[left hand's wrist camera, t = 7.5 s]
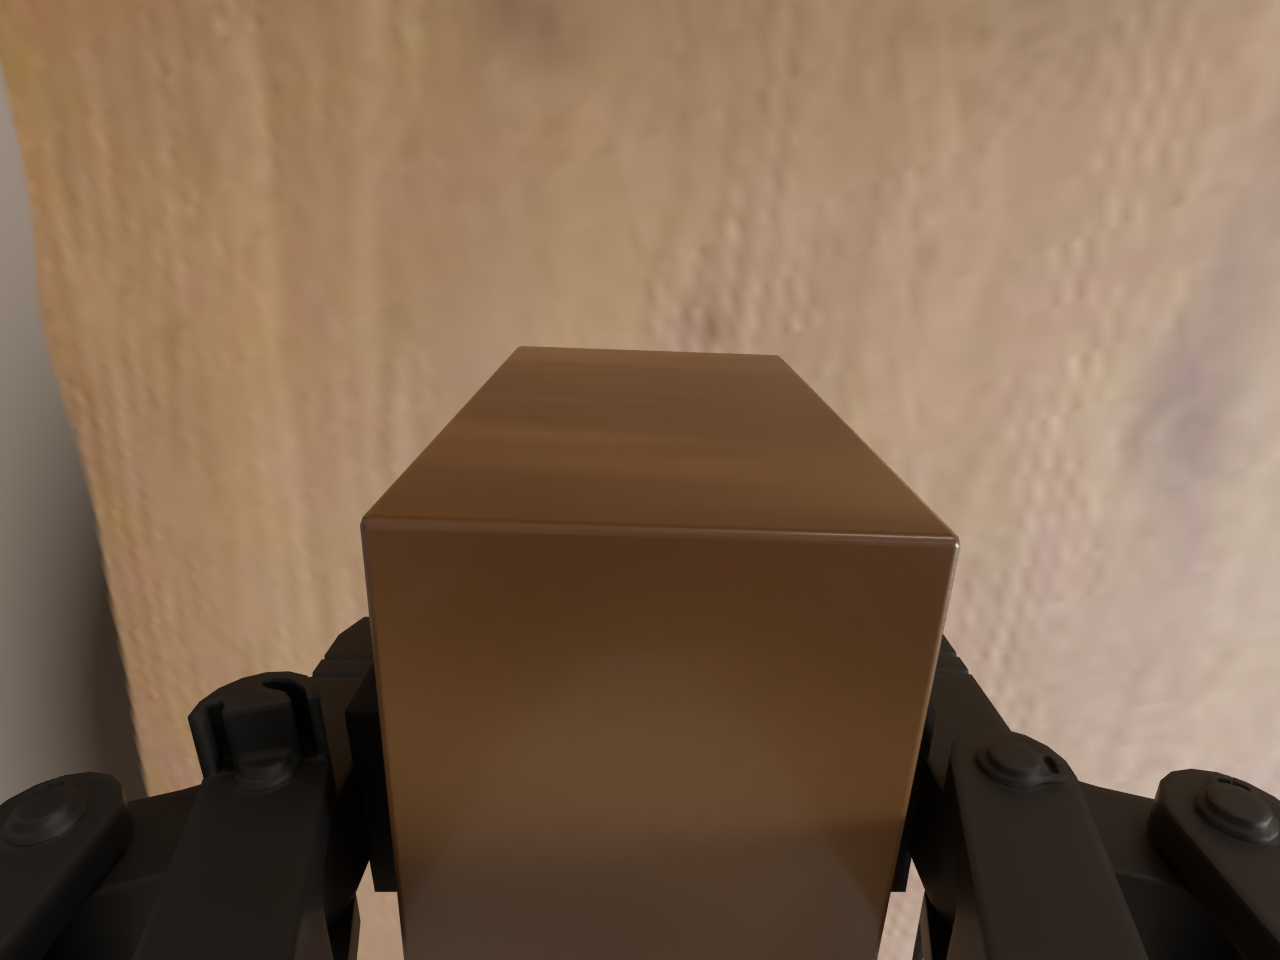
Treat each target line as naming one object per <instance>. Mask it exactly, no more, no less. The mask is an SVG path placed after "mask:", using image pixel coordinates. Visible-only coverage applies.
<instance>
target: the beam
mask: <svg viewBox="0 0 1280 960" xmlns="http://www.w3.org/2000/svg"><path fill="white" fill-rule="evenodd" d="M360 529H361V539H362V549H363V559H364V569H365V579H366V588H367V598H368V608H369V618H370V628H371V638H372V648H373V658H374V667H375V677H376V687H377V697H378V707H379V717H380V727H381V737H382V747H383V756H384V766H385V776H386V786H387V796H388V806H389V816H390V826H391V836H392V845H393V855H394V865H395V875H396V885H397V895H398V905H399V915H400V924H401V934H402V944H403V954H404V960H877V957H878V952H879V947H880V942H881V937H882V932H883V927H884V922H885V918H886V913H887V908H888V903H889V898H890V893H891V888H892V883H893V878H894V873H895V868H896V863H897V858H898V853H899V848H900V843H901V838H902V833H903V828H904V823H905V818H906V813H907V808H908V803H909V798H910V793H911V788H912V784H913V779H914V774H915V769H916V764H917V759H918V754H919V749H920V744H921V739H922V734H923V729H924V724H925V719H926V714H927V709H928V704H929V699H930V694H931V689H932V684H933V679H934V674H935V669H936V664H937V659H938V654H939V650H940V645H941V640H942V635H943V630H944V625H945V620H946V615H947V610H948V605H949V600H950V595H951V590H952V585H953V580H954V575H955V570H956V565H957V560H958V555H959V550H960V542H959V538H958V536H957V535H956V534H955V533H954V532H953V531H952V530H951V529H950V528H949V527H948V526H947V525H946V524H945V523H944V522H943V521H942V520H941V519H940V518H939V517H938V516H937V515H936V514H935V513H934V512H933V511H932V510H931V509H930V508H929V507H928V506H927V505H926V504H925V503H924V502H923V501H922V500H921V499H920V498H919V497H918V496H917V495H916V494H915V493H914V492H913V490H912V489H911V488H910V487H909V486H908V485H907V484H906V483H905V482H904V481H903V480H902V479H901V478H900V477H899V476H898V475H897V474H896V473H895V472H894V471H893V470H892V469H891V468H890V467H889V466H888V465H887V464H886V463H885V462H884V461H883V460H882V459H881V458H880V457H879V456H878V455H877V454H876V453H875V452H874V451H873V450H872V449H871V448H870V447H869V446H868V445H867V444H866V443H865V442H864V441H863V440H862V439H861V438H860V437H859V436H858V435H857V434H856V433H855V432H854V431H853V430H852V429H851V428H850V427H849V426H848V425H847V424H846V423H845V422H844V421H843V420H842V419H841V418H840V417H839V416H838V415H837V414H836V413H835V412H834V411H833V410H832V409H831V408H830V407H829V406H828V405H827V404H826V403H825V402H824V401H823V400H822V399H821V398H820V397H819V396H818V395H817V393H816V392H815V391H814V390H813V389H812V388H811V387H810V386H809V385H808V384H807V383H806V382H805V381H804V380H803V379H802V378H801V377H800V376H799V375H798V374H797V373H796V372H795V371H794V370H793V369H792V368H791V367H790V366H789V365H788V364H787V363H786V362H785V361H784V360H783V359H782V358H781V357H779V356H777V355H751V354H723V353H695V352H667V351H639V350H611V349H583V348H555V347H528V346H521V347H518V348H517V349H516V350H515V351H514V352H513V353H512V355H511V356H510V357H509V358H508V359H507V360H506V361H505V362H504V363H503V364H502V366H501V367H500V368H499V369H498V370H497V371H496V372H495V373H494V374H493V375H492V376H491V378H490V379H489V380H488V381H487V382H486V383H485V384H484V385H483V386H482V387H481V388H480V390H479V391H478V392H477V393H476V394H475V395H474V396H473V397H472V398H471V399H470V400H469V402H468V403H467V404H466V405H465V406H464V407H463V408H462V409H461V410H460V411H459V413H458V414H457V415H456V416H455V417H454V418H453V419H452V420H451V421H450V422H449V423H448V425H447V426H446V427H445V428H444V429H443V430H442V431H441V432H440V433H439V434H438V435H437V437H436V438H435V439H434V440H433V441H432V442H431V443H430V444H429V445H428V446H427V447H426V449H425V450H424V451H423V452H422V453H421V454H420V455H419V456H418V457H417V458H416V459H415V461H414V462H413V463H412V464H411V465H410V466H409V467H408V468H407V469H406V470H405V472H404V473H403V474H402V475H401V476H400V477H399V478H398V479H397V480H396V481H395V482H394V484H393V485H392V486H391V487H390V488H389V489H388V490H387V491H386V492H385V493H384V494H383V496H382V497H381V498H380V499H379V500H378V501H377V502H376V503H375V504H374V505H373V506H372V508H371V509H370V510H369V511H368V512H367V513H366V514H365V515H364V516H363V518H362V521H361V523H360Z"/></svg>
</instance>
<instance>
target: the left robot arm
mask: <svg viewBox="0 0 1280 960" xmlns="http://www.w3.org/2000/svg"><path fill="white" fill-rule="evenodd" d="M188 721H189V725H190V728H191V732H192V736H193V740H194V744H195V747H196V751H197V755H198V759H199V763H200V766H201V770H202V774H203V781H202V783H201V784H200V785H197V786H194V787H190V788H187V789H183V790H179V791H175V792H170V793H166V794H161V795H157V796H152V797H148V798H144V799H139V800H135V801H130V802H127V800H126V797H125V794H124V791H123V788H122V785H121V783H120V782H119V781H117V780H116V779H115V778H114V777H112V776H111V775H109V774H102V773H95V772H85V773H78V774H71V775H64V776H61V777H58V778H55V779H52V780H49V781H46V782H43V783H40V784H37V785H35V786H33V787H31V788H29V789H27V790H25V791H23V792H21V793H20V794H18V795H16V796H14V797H12V798H10V799H8V800H7V801H5V802H4V803H3V804H1V805H0V960H357V952H358V941H359V931H360V915H359V909H358V903H357V897H356V891H357V888H358V886H359V884H360V881H361V879H362V876H363V874H364V871H365V869H366V867H367V864H368V862H369V860H370V866H371V871H372V877H373V883H374V889H375V892H397V885H396V875H395V865H394V855H393V845H392V836H391V826H390V816H389V806H388V796H387V786H386V776H385V766H384V756H383V747H382V737H381V727H380V717H379V707H378V697H377V687H376V677H375V667H374V658H373V648H372V638H371V628H370V618H369V617H364V618H362V619H361V620H359V621H358V622H356V623H355V624H354V625H352V626H351V627H349V628H348V629H346V630H345V631H344V632H342V633H341V634H339V635H338V637H337V638H336V640H335V641H334V643H333V644H332V646H331V647H330V648H329V650H328V651H327V653H326V654H325V659H322V660H321V661H320V663H319V664H318V666H317V667H316V669H315V670H314V671H313V676H312V677H308V676H306V675H302V674H298V673H294V672H289V671H287V672H266V673H261V674H257V675H253V676H249V677H245V678H241V679H239V680H237V681H234V682H232V683H230V684H227V685H225V686H223V687H221V688H218V689H217V690H216V691H214V692H213V693H211V694H210V695H208V696H207V697H206V698H204V699H203V700H201V701H200V702H199V703H198V704H197V706H196V707H195V708H194V709H193V711H192V712H191V713H190V715H189V716H188ZM911 857H912V859H913V862H914V864H915V867H916V869H917V871H918V874H919V876H920V879H921V881H922V884H923V886H924V888H925V892H924V897H923V903H922V908H921V914H920V919H919V924H918V930H917V935H916V941H915V946H914V952H913V959H912V960H1280V801H1279V800H1278V799H1277V798H1275V797H1274V796H1272V795H1270V794H1268V793H1266V792H1264V791H1262V790H1260V789H1259V788H1257V787H1255V786H1253V785H1251V784H1249V783H1247V782H1245V781H1242V780H1239V779H1237V778H1233V777H1230V776H1227V775H1224V774H1221V773H1218V772H1211V771H1204V770H1197V769H1186V770H1179V771H1172V772H1170V773H1169V774H1168V775H1167V776H1165V777H1164V778H1163V779H1162V780H1161V781H1160V783H1159V786H1158V790H1157V793H1156V796H1155V799H1151V798H1146V797H1142V796H1137V795H1133V794H1128V793H1124V792H1119V791H1115V790H1110V789H1106V788H1101V787H1097V786H1094V785H1090V784H1087V783H1084V782H1080V781H1078V779H1077V777H1076V775H1075V774H1074V772H1073V771H1072V769H1071V768H1070V766H1069V765H1068V764H1067V762H1066V761H1065V760H1064V759H1063V758H1062V757H1060V756H1059V755H1058V754H1057V753H1055V752H1054V751H1053V750H1052V749H1050V748H1049V747H1048V746H1046V745H1044V744H1042V743H1040V742H1038V741H1036V740H1034V739H1032V738H1030V737H1028V736H1026V735H1023V734H1019V733H1016V732H1012V731H1011V730H1010V729H1009V727H1008V726H1007V725H1006V723H1005V722H1004V720H1003V719H1002V717H1001V716H1000V715H999V713H998V712H997V710H996V709H995V707H994V706H993V705H992V703H991V702H990V700H989V699H988V698H987V696H986V695H985V693H984V692H983V690H982V689H981V688H980V686H979V685H978V683H977V682H976V680H975V679H974V678H973V676H972V675H969V674H968V669H967V668H966V666H965V665H964V663H963V662H962V660H961V659H960V658H959V657H956V652H955V650H954V649H953V648H952V646H951V645H950V643H949V642H948V640H947V639H946V638H945V636H944V635H942V640H941V645H940V650H939V654H938V659H937V664H936V669H935V674H934V679H933V684H932V689H931V694H930V699H929V704H928V709H927V714H926V719H925V724H924V729H923V734H922V739H921V744H920V749H919V754H918V759H917V764H916V769H915V774H914V779H913V784H912V788H911V793H910V798H909V803H908V808H907V813H906V818H905V823H904V828H903V833H902V838H901V843H900V848H899V853H898V858H897V863H896V868H895V873H894V878H893V883H892V888H891V892H906V886H907V880H908V874H909V868H910V863H911Z"/></svg>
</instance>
